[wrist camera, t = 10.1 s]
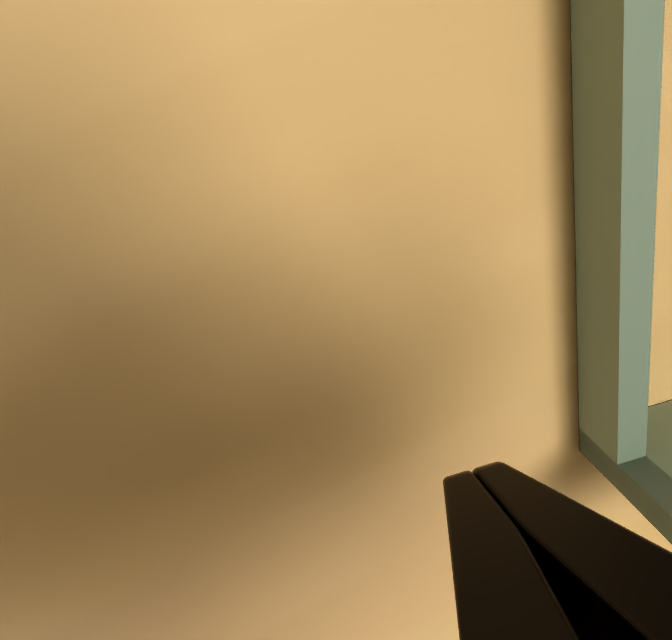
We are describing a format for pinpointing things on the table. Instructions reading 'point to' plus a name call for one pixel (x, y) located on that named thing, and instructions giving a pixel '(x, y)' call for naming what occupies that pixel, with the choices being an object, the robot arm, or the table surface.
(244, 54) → the table surface
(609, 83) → the grey-green open frame
